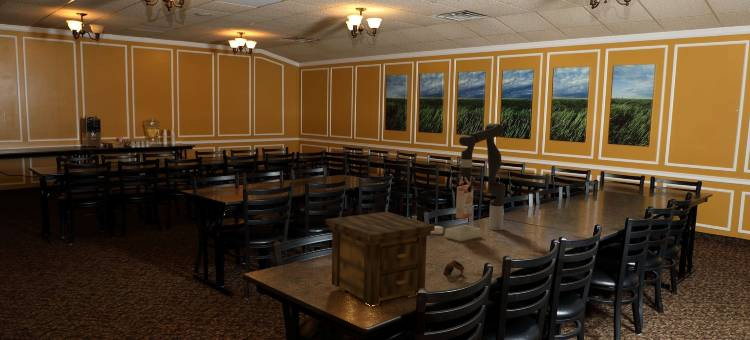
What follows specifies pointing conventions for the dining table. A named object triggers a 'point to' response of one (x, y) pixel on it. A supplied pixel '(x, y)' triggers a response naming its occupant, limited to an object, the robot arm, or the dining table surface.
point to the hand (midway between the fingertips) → (465, 191)
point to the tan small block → (437, 230)
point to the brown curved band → (451, 265)
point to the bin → (463, 233)
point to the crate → (378, 255)
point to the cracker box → (464, 202)
